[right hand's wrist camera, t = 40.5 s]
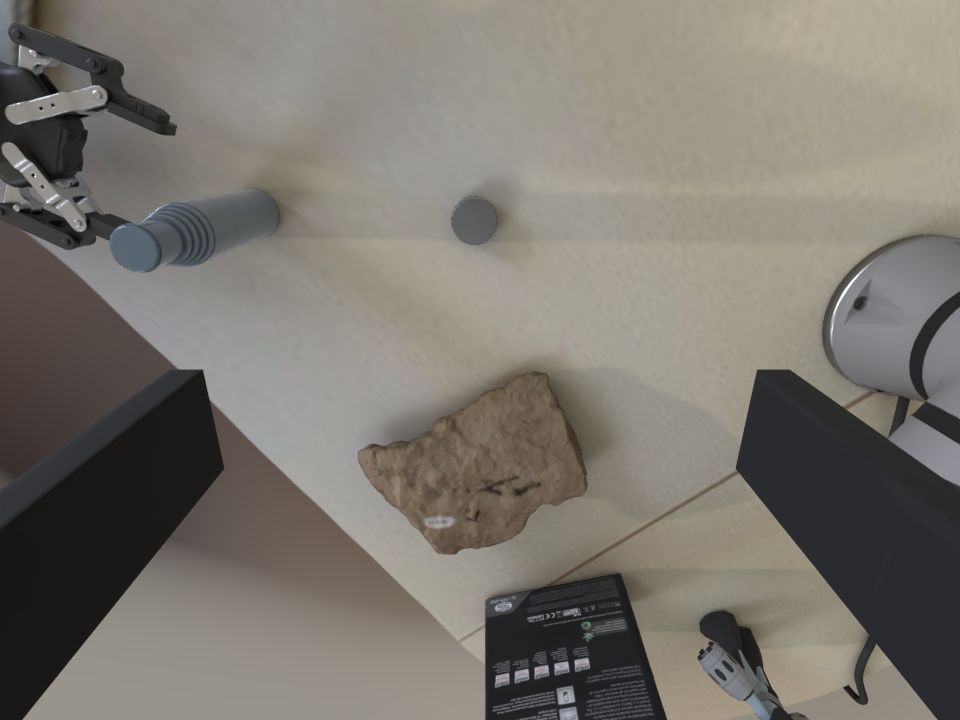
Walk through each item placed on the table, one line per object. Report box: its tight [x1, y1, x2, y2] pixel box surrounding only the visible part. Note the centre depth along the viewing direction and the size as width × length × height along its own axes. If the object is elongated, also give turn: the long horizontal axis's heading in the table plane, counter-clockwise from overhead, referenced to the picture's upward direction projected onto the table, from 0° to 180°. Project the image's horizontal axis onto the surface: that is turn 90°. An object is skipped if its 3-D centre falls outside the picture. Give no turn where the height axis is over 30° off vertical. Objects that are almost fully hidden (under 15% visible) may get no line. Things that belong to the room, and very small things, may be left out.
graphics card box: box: [485, 573, 667, 720], centre depth 51 cm, size 17×7×27 cm, turn 106°
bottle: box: [110, 189, 279, 272], centre depth 38 cm, size 4×4×18 cm
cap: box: [451, 196, 497, 245], centre depth 45 cm, size 4×4×2 cm
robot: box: [698, 611, 809, 720], centre depth 56 cm, size 20×5×20 cm, turn 46°
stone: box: [358, 372, 588, 554], centre depth 53 cm, size 21×15×6 cm
